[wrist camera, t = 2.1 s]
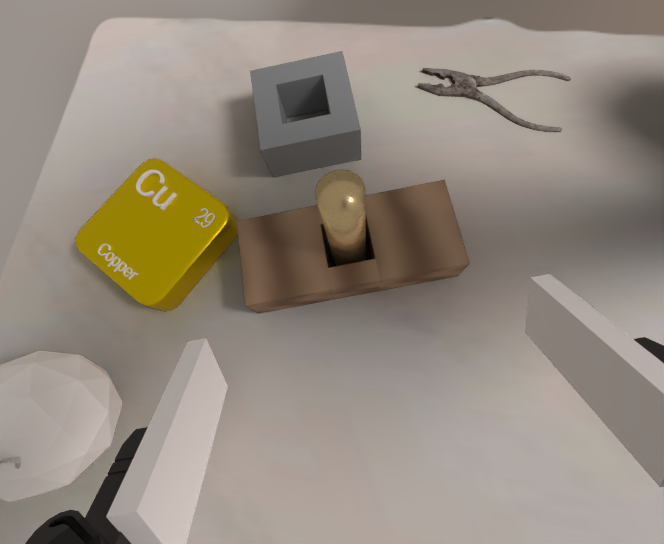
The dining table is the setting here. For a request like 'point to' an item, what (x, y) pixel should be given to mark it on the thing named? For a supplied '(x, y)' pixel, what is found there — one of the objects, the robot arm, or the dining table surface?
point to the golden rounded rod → (343, 215)
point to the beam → (356, 278)
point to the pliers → (467, 88)
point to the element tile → (157, 235)
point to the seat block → (300, 98)
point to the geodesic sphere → (52, 421)
